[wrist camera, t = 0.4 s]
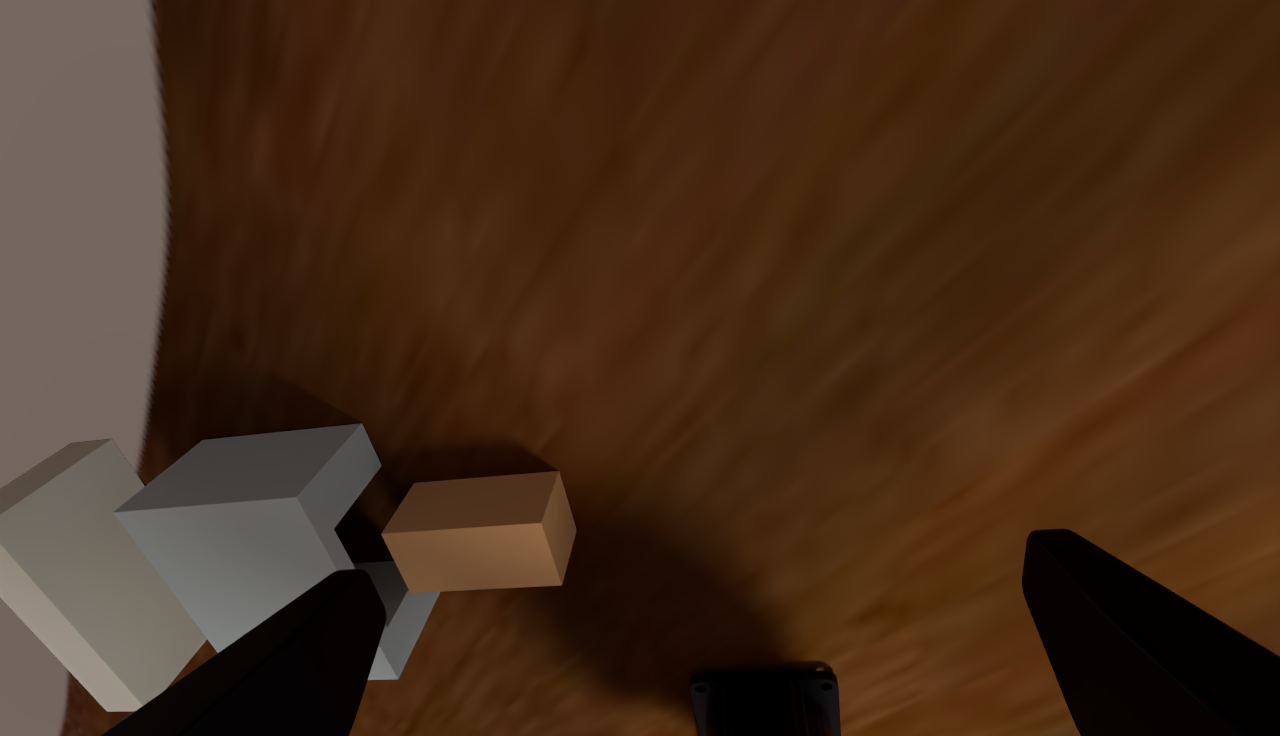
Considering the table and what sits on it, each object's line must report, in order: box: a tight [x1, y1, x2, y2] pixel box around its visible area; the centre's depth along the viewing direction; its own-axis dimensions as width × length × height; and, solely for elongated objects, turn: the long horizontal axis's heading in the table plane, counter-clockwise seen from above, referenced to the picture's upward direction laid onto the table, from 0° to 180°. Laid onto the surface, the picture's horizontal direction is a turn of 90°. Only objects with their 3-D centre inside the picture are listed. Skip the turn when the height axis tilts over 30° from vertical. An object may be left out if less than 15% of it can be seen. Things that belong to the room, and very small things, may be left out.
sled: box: [113, 423, 440, 680], centre depth 24 cm, size 9×7×4 cm
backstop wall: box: [0, 439, 207, 712], centre depth 25 cm, size 10×2×5 cm, turn 10°
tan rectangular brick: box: [381, 471, 577, 593], centre depth 23 cm, size 3×6×3 cm, turn 100°
